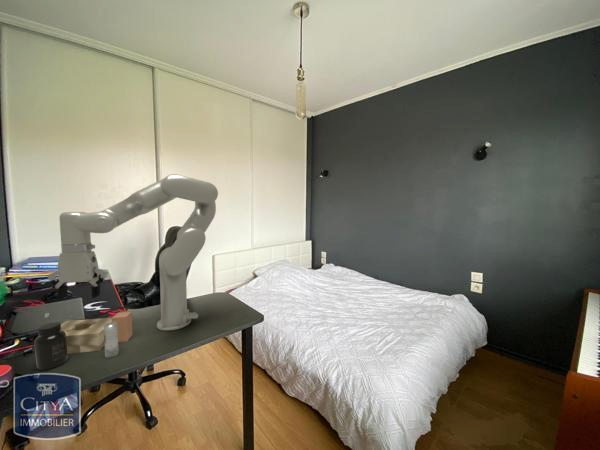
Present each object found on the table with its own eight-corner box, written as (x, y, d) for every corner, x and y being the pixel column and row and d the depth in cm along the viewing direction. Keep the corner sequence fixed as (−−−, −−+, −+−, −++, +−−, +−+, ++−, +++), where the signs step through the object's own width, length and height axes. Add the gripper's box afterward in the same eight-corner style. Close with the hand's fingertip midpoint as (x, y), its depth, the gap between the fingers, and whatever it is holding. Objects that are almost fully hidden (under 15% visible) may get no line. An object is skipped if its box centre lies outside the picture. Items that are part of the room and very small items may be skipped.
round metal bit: (120, 350, 84) (119, 321, 83) (115, 356, 80) (113, 326, 80) (108, 351, 83) (107, 322, 82) (102, 358, 80) (101, 327, 79)
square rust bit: (132, 334, 94) (131, 311, 93) (127, 341, 90) (126, 316, 89) (119, 336, 93) (117, 312, 92) (112, 342, 89) (111, 317, 88)
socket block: (117, 332, 95) (116, 317, 95) (99, 350, 84) (98, 333, 83) (67, 336, 92) (66, 320, 91) (41, 356, 80) (40, 338, 80)
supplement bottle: (68, 354, 81) (66, 318, 81) (67, 364, 76) (65, 326, 75) (37, 362, 77) (35, 324, 76) (34, 374, 72) (31, 333, 71)
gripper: (111, 246, 91) (113, 292, 92) (55, 247, 87) (58, 295, 89) (99, 249, 83) (102, 300, 85) (37, 251, 80) (41, 303, 81)
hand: (79, 297), depth 87 cm, fingers open, 9 cm apart
